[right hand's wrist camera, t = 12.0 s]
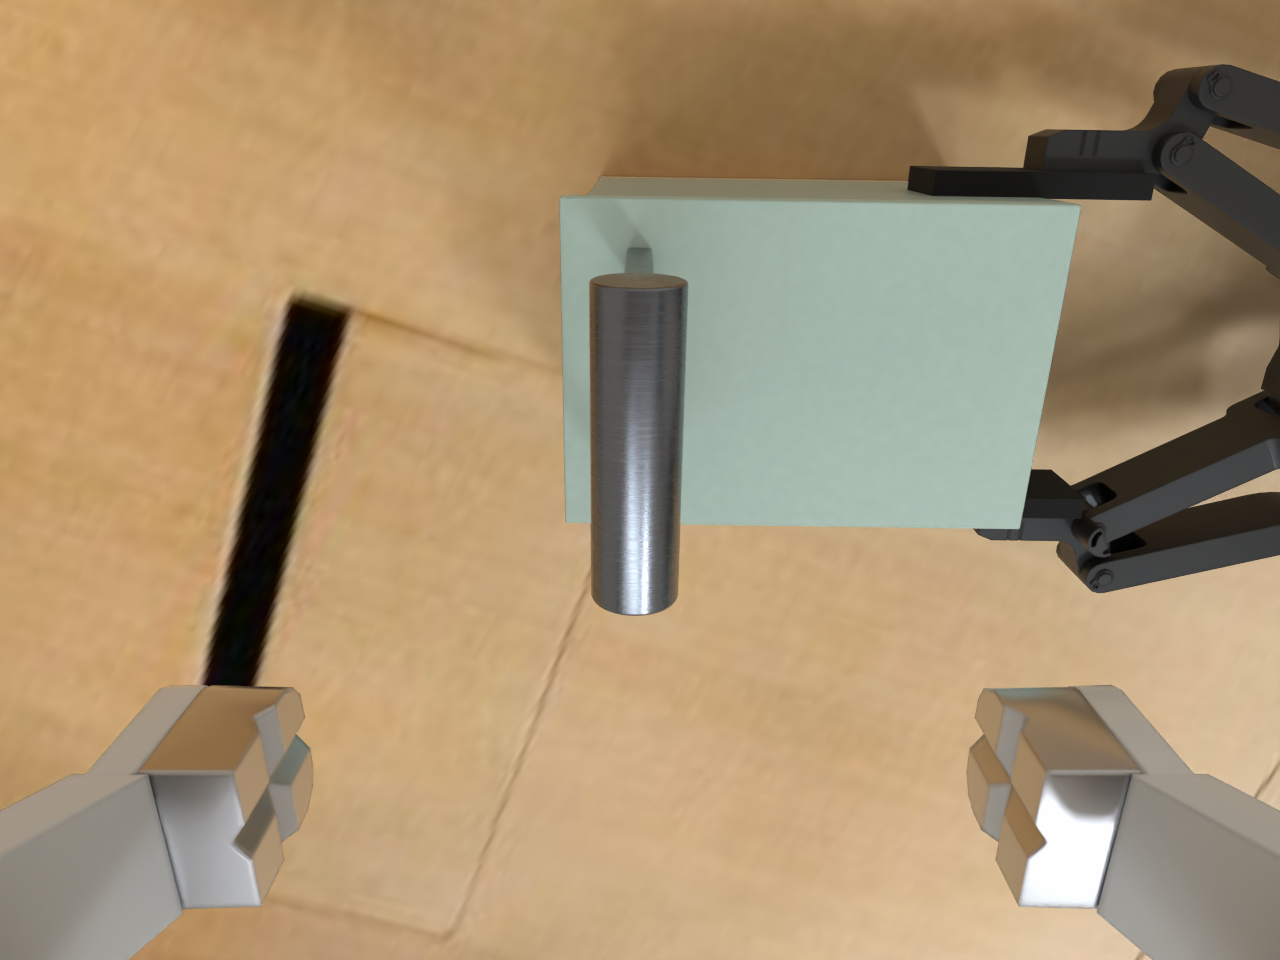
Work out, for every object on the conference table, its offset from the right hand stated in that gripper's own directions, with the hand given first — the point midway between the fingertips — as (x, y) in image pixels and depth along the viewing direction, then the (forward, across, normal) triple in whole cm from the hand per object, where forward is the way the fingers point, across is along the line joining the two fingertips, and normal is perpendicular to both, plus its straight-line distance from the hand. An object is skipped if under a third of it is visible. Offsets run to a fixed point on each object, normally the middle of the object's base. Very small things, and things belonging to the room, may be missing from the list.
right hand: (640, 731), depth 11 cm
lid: (+17, -5, 0) cm, 18 cm away
